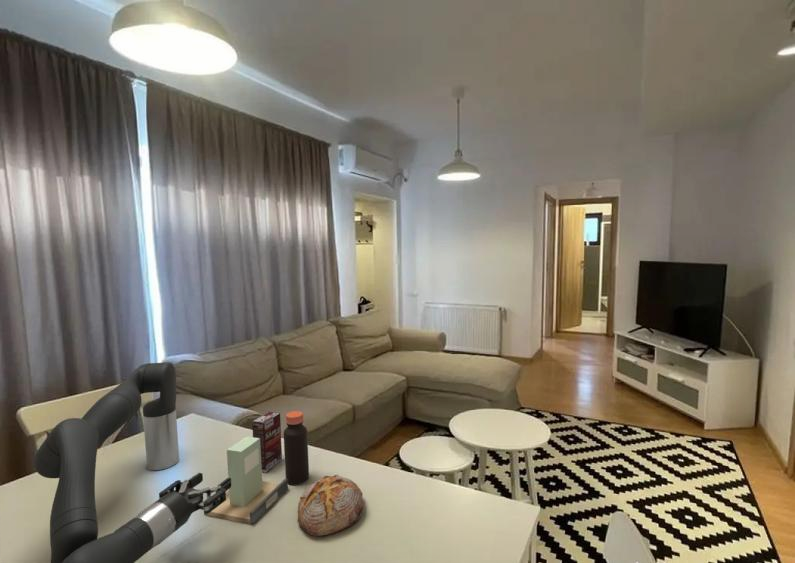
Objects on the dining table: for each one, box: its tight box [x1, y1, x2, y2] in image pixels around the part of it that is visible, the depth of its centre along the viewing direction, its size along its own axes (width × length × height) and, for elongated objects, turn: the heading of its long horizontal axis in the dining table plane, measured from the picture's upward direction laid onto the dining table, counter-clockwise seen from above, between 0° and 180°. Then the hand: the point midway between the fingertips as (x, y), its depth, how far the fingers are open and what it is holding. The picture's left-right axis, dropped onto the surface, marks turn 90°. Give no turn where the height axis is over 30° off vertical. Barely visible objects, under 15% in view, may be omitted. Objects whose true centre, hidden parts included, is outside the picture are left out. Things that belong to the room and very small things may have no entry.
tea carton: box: [226, 436, 263, 507], centre depth 113 cm, size 4×8×15 cm, turn 163°
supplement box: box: [251, 411, 283, 473], centre depth 132 cm, size 9×5×16 cm, turn 160°
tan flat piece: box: [204, 478, 289, 525], centre depth 114 cm, size 15×16×3 cm
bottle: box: [283, 410, 310, 486], centre depth 123 cm, size 7×7×20 cm
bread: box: [297, 474, 364, 537], centre depth 107 cm, size 16×20×10 cm
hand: (215, 478), depth 102 cm, fingers open, 8 cm apart
